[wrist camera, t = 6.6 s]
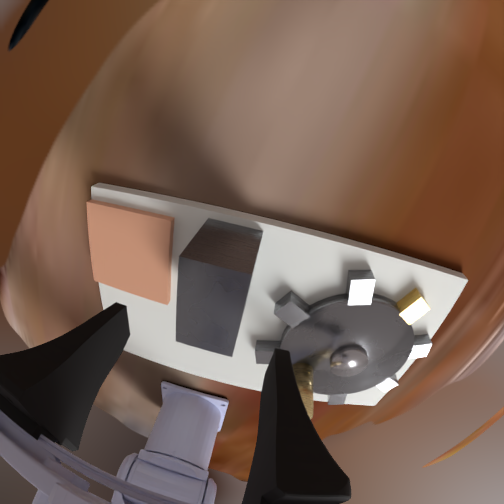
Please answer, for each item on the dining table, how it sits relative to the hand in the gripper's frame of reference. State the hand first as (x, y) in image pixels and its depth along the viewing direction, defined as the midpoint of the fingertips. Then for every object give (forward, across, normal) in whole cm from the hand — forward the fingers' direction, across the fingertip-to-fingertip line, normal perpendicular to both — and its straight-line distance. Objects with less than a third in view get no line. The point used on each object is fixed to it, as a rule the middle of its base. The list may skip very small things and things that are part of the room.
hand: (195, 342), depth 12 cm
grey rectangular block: (+7, 0, 0) cm, 7 cm away
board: (+8, -4, +5) cm, 10 cm away
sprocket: (+7, -10, +5) cm, 14 cm away
